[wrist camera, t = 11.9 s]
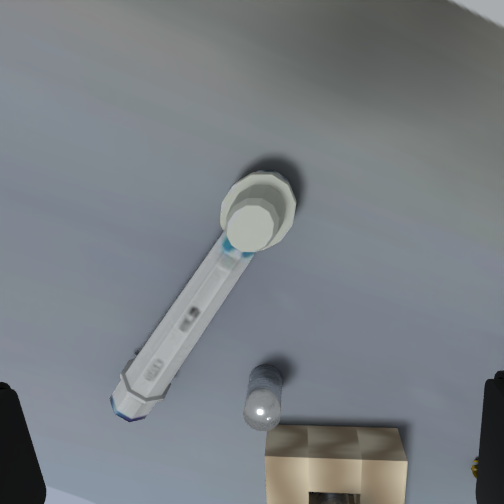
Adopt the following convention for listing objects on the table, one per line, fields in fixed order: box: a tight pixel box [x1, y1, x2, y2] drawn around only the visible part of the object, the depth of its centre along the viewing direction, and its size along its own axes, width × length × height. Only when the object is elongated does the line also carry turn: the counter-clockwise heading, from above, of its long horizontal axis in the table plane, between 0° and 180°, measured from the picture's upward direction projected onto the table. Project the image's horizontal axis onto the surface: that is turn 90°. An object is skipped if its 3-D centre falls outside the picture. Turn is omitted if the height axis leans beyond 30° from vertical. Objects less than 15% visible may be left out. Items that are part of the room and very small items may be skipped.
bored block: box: [265, 425, 408, 504], centre depth 41 cm, size 12×12×4 cm
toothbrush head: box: [109, 170, 297, 422], centre depth 36 cm, size 5×7×25 cm
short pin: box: [243, 365, 282, 431], centre depth 38 cm, size 3×3×5 cm
